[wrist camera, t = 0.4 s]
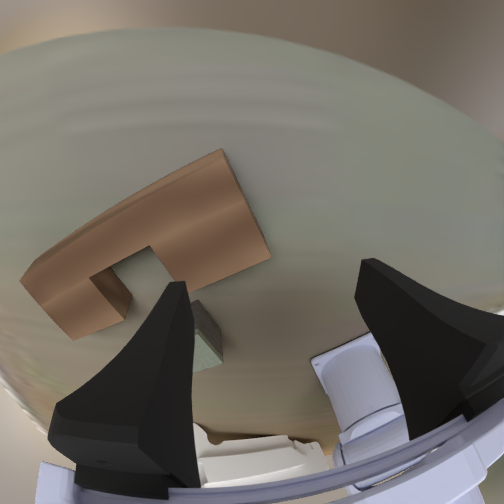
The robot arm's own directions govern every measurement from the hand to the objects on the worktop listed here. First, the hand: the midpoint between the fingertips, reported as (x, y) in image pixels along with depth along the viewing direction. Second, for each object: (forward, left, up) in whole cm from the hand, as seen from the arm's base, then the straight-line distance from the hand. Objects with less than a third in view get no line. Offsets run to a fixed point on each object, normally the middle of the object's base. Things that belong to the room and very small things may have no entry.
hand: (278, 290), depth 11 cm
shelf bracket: (-36, +14, -10) cm, 40 cm away
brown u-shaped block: (+1, +9, -10) cm, 13 cm away
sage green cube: (-8, +9, -10) cm, 15 cm away
